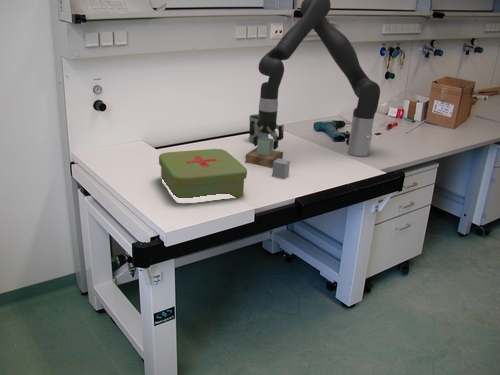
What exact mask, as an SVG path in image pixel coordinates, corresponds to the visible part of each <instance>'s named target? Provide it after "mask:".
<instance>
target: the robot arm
mask: <svg viewBox="0 0 500 375" xmlns="http://www.w3.org/2000/svg"><path fill="white" fill-rule="evenodd" d="M300 11H301V14H302V17H301V18H300V19H299V20H298V21H297V22H296V23H295V24H293V26H292V27H291V28H289V30H288V31H287V32H286V33H285V34H284V35H283V36H282V37H281V38H280V40H279V41H278V43H277V44H276V45H275V46H274V47H273V48H272V49H271V50H270V51H268V52H267V53H266V54H264V56H262V58H261V59H260V61H259V63H258V67H257V68H258V71H259V72H260V74H261V75H263V76H267V77H268V80H267V81H265V82H263V83H261V85H260V96H259V97H260V98H259V102H258V113H257V114H258V121H255V120H252V121H251V123H250V122H249V130H248V131H249V133H248V134H250V135H252V136H253V137H254V138H253V143H252V144H253V146H255V147H256V146H257V145H258V135H259V133H260V132H262V133H266V134H269V135H270V137H272V139H274V143H273V150H275V151H276V149H277V148H279V141H282V140H283V139H284V132H285V131H284V124H281V125H280V124H277V122H278V121H277V118H278V108H279V101H278V100H279V99H278V98H279V88H280V85H281V83H282V80H283V77H284V73H285V65H284V62H283V61H286V60H289V59H290V58H291V57H292V56H293V54H294V53H295V51H296V50H297V49H298V47H299V46H300V45H301V43H302V42H303V41H304V39H305V38H306V37H307V36H308V35H309V33H310V32H311V31H312V30H314V32H315V33H316V35H317V36H318V37H319V39H320V41H321V42H322V44H323V45H324V47H325V48H326V50H327V52H328V53H329V54H330V56H331V58H332V59H333V61H334V63H335V64H336V65H337V66H338V68H339V69H340V70H341V72H342V73H343V74H344V75H345V77H346V79H347V80H348V82H349V84H350V87H351V88H352V90H353V93H354V94H355V96H356V97H357V98H358V100H357V106H356V107H355V108H354V109H353V111H352V119H351V120H352V121H351V124H350V125H351V128H350V133H349V139H348V145H347V146H348V147H347V154H348V155H351V156H354V157H368V156H369V154H370V150H371V144H372V137H373V133H372V132H373V128H374V127H373V126H374V120H375V115H376V113H377V110H378V108H379V107H378V106H379V101H380V95H381V86H380V85H379V84H378V83H377V82H376V81H373V80H372V79H370V78H369V76H368V75H367V74H366V72H365V71H364V70H363V68H362V66H361V64H360V61H359V59H358V55H357V52H356V50H355V49H354V47H353V45H352V43H351V42H350V40H349V39H348V37H347V36H346V35H345V34H344V33H343V32H341V31H340V30H338V28H336V27H335V26H333V25H332V24H331V23H330V22H329V19H327V17H326V16H327V15H328V14H329V12H330V11H331V0H302V2H301V4H300ZM256 124H257V126H258V127H259V129H258V130H257V131H256V132H254V130H255V126H256ZM276 129H277V131H278V133H277V131H276ZM250 135H249V136H250Z"/></svg>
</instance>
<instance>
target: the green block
mask: <svg viewBox="0 0 500 375" xmlns="http://www.w3.org/2000/svg"><path fill="white" fill-rule="evenodd" d="M273 144H274V139H273V138H269V137H268V138H265V137H262V138H260V139H259V140H258V145H257V147H256V148H257V154H260V155H265V156H269V155H270V154H272V153H273V150H274V149H273Z"/></svg>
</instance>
